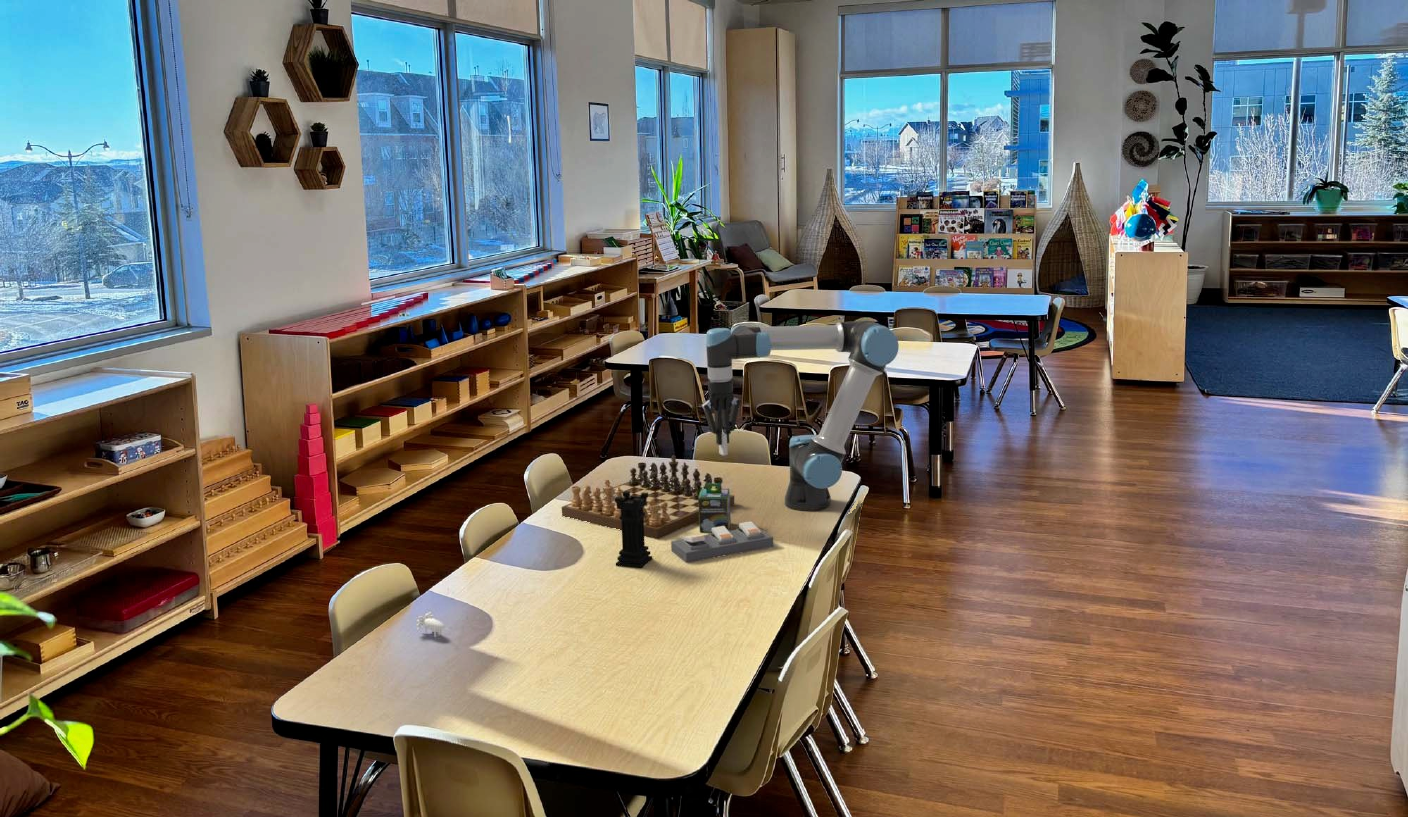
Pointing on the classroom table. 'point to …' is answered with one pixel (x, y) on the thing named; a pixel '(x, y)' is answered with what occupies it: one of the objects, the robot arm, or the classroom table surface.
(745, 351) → the robot arm
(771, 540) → the rocker switch panel
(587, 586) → the classroom table surface
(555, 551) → the classroom table surface
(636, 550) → the chess piece
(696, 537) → the rocker
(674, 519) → the chess set
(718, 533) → the middle rocker
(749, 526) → the rocker
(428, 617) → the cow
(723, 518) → the chalk box
